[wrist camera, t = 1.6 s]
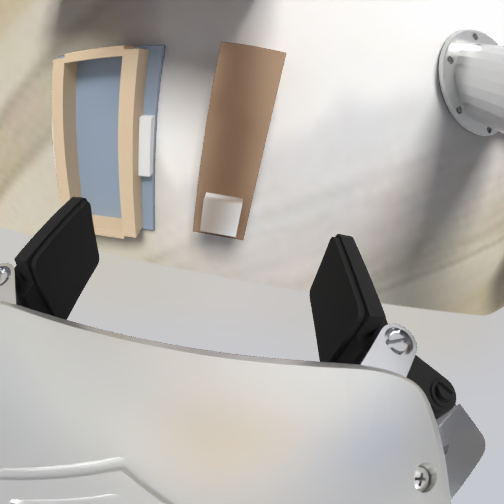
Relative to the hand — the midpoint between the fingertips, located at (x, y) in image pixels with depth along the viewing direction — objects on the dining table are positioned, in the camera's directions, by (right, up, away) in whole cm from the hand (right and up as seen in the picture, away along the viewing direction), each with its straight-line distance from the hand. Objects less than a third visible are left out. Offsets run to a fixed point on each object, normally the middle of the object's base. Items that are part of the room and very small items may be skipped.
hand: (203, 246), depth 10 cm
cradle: (-14, +11, +14) cm, 23 cm away
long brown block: (0, +11, +15) cm, 18 cm away
